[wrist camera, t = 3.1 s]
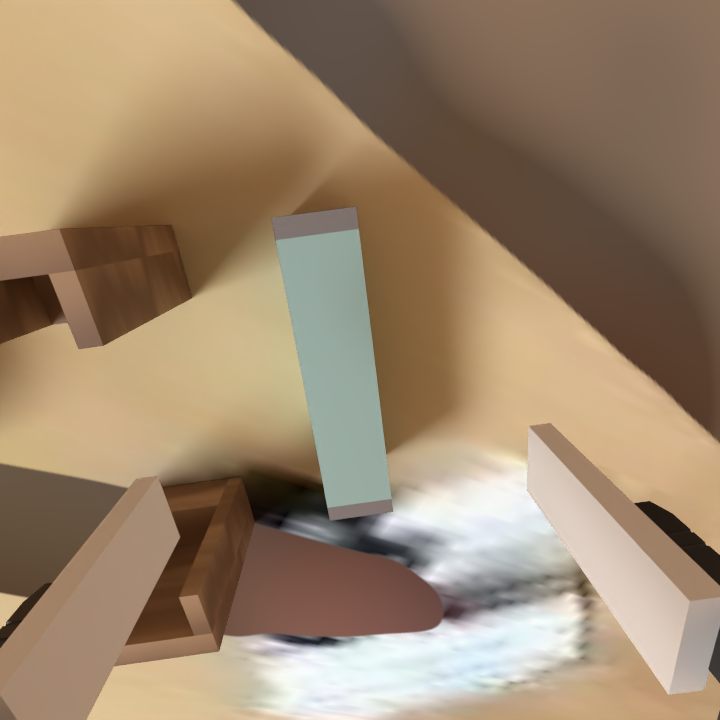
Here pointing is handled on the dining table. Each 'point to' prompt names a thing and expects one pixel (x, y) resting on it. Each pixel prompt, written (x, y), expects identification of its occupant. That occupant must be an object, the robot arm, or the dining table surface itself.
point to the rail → (336, 356)
